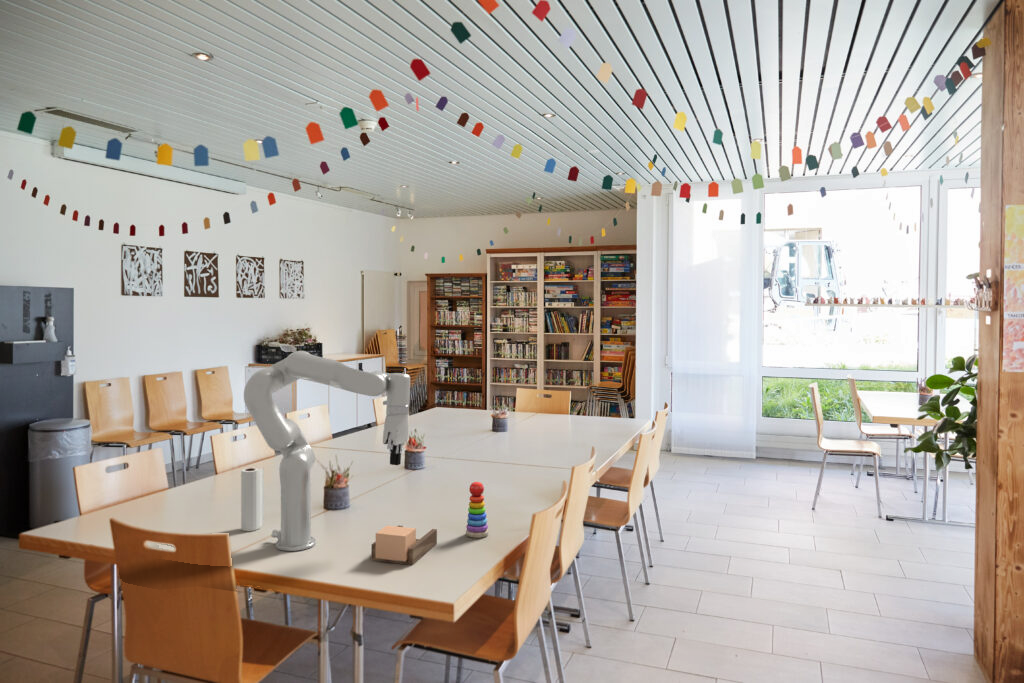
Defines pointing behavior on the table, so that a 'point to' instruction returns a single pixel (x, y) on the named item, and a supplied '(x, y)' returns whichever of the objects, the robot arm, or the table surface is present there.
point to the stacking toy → (476, 513)
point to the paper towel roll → (252, 499)
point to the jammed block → (394, 542)
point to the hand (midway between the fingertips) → (395, 464)
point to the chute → (413, 548)
